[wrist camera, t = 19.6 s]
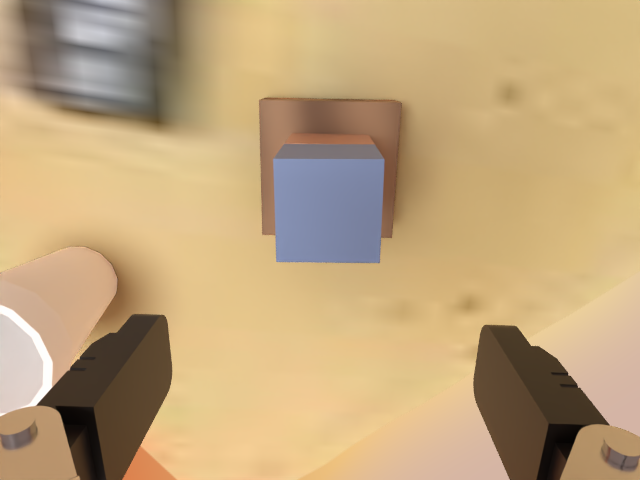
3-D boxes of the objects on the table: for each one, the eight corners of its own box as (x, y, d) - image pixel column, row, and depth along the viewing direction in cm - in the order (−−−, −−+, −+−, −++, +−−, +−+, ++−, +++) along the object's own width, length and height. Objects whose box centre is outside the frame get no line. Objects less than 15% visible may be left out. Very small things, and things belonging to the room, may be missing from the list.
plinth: (394, 100, 36) (401, 102, 32) (386, 222, 40) (391, 237, 36) (266, 97, 36) (259, 100, 33) (269, 219, 40) (262, 234, 36)
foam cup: (9, 269, 42) (-125, 348, 30) (77, 208, 40) (-37, 265, 28) (87, 342, 44) (-7, 443, 32) (156, 287, 42) (83, 373, 30)
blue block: (374, 144, 28) (384, 159, 23) (371, 230, 30) (379, 262, 25) (284, 143, 28) (273, 158, 23) (286, 230, 30) (276, 261, 25)
